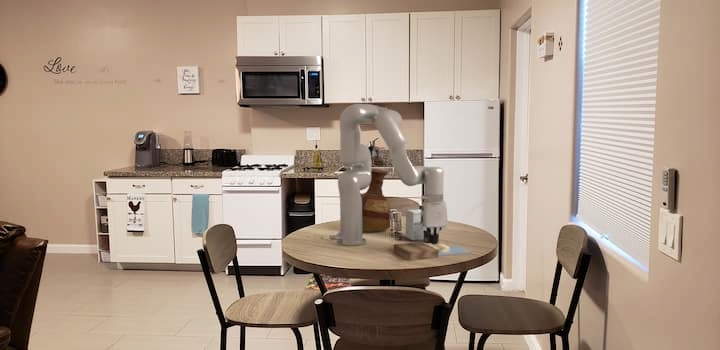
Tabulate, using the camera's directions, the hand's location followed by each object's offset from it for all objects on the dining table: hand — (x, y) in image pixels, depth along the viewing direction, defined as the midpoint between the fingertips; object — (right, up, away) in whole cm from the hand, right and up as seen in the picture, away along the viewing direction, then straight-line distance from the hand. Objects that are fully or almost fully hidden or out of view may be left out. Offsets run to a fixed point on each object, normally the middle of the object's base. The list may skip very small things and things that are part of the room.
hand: (433, 243), depth 220 cm
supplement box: (-4, -1, +27) cm, 27 cm away
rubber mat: (+6, -3, +3) cm, 7 cm away
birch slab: (+2, -2, +1) cm, 3 cm away
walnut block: (-7, -4, -3) cm, 9 cm away
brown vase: (-24, +1, +44) cm, 51 cm away
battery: (+1, -2, +18) cm, 18 cm away
